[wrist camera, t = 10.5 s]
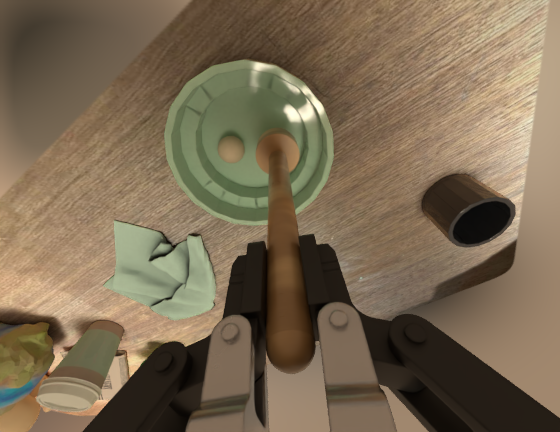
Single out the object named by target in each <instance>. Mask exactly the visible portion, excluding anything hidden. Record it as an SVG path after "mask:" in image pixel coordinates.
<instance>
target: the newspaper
mask: <svg viewBox="0 0 560 432" xmlns="http://www.w3.org/2000/svg"><path fill="white" fill-rule="evenodd" d="M69 351H70V350H69ZM69 351H68V352H60V353H61V355H62V357H63V358H64V357H65V356H66V355H67V354H68V353H69ZM128 380H129V376H128V367H127V358H126V352H125V351H121V350H117V351H116V354H115V356H114V359H113V361H112V364H111V366H110V369H109V372H108V374H107V377H106V379H105V382H104V384H103V387H102V389H101V390H102V394H101V395H100V396H99V399H98V400H110V399H112V398H113V397H114V396H115V394H116V393H117V392H118V391H119V390H120V389H121V388H122V387H123V385H124V384H125V383H126V382H127V381H128Z"/></svg>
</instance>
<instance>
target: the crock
mask: <svg viewBox="0 0 560 432" xmlns="http://www.w3.org/2000/svg"><path fill="white" fill-rule="evenodd" d="M422 209H423V212H424V213H425V215H426V216H427V217H428V218H429V219H430V220H431V221H432V222H433V224H434V225H435V226H436V227H437V228H438V229H439V230H440V231H441V232H442V233H443V234H444V235H445V236H446V237H447V238H448V239H449V240H450V241H451V242H452V243H453V244H455V245H456V246H460V247H475V246H479V245H482V244H485V243H487V242H490V241H492V240H493V239H495V238H496V237H498V236H499V235H501V234H502V233H503V232H504V231H505V230H506V229H507V228H508V227H509V226H510V225H511V223H512V221H513V219H514V217H515V214H516V213H515V205H514V204H513V203H512V202H511V201H510V200H509V199H508V198H506V197H504V196H503V195H501V194H500V193H498V192H496V191H495V190H493V189H491V188H490V187H488V186H487V185H485V184H483V183H482V182H480V181H478V180H477V179H475V178H473V177H471V176H469V175H465V174H455V175H451V176H448V177H445V178H443V179H441V180H440V181H438V182H437V183H435V184H434V185H433V186H432V187H431V188H430V189H429V190H428V191H427V193H426V194H425V196H424V198H423V202H422Z"/></svg>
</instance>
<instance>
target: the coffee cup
mask: <svg viewBox="0 0 560 432" xmlns="http://www.w3.org/2000/svg"><path fill="white" fill-rule="evenodd" d="M123 333H124V330H123V328H122V327H121V326H120V325H118V324H116V323H114V322H110V321H96V322H94V323H92V325H91V326H90V327H89V328H88V329H87V331H86V332H85V333H84V334H83V335H82V337H81V338H80V339H79V340H78V342H77V343H76V344H75V345H74V346H73V348H72V349H71V350H70V351H69V353H68V354H67V355H66V356H65V357H64V359H63V360H62V361H61V362H60V364H59V365H58V366H57V367H56V368H55V370H54V371H53V372H52V373H51V375H50V376H49V377H48V378H47V379H45V380H44V381H43V382H42V384H41V386H40V387H39V392H38V395H37V397H36V401H37V402H38V403H39V404H40V405H42V406H44V407H47V408H50V409H53V410H58V411H64V412H81V411H86V410H88V409H90V408H91V406H92V405H93V404H94V403H95V401H97V400H98V399H99V396H100V395H101V394H102V390H101V389H102V387H103V384H104V382H105V379H106V377H107V374H108V372H109V369H110V366H111V364H112V361H113V359H114V356H115V354H116V351H117V349H118V346H119V344H120V341H121V338H122V336H123Z"/></svg>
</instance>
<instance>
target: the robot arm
mask: <svg viewBox="0 0 560 432" xmlns="http://www.w3.org/2000/svg"><path fill="white" fill-rule="evenodd" d="M298 238H299V245H300V252H301V258H302V265H303V272H304V278H305V285H306V292H307V298H308V305H309V311H310V318H311V322H312V324H313V330H314V336H315V341H319V342H320V348H321V356H322V364H323V373H324V381H325V389H326V399H327V407H328V416H329V424H330V432H397V429H396V426H395V423H394V419H393V416H392V412H391V409H390V406H389V403H388V400H387V397H386V395H385V393H384V391H383V390H382V389H381V388H380V386H379V384H380V385H383V386H387V387H388V388H389V389H390V390H391V391H392V392H393V393H394V394H395V395H396V397H397V398H398V399H399V400H400V401H401V402H402V403H403V404H404V405H405V406H406V407H407V408H408V410H409V411H410V412H411V413H412V414H413V415H414V416H415V417H416V418H417V419H418V420H419V421H420V422H421V424H422V425H423V426H424V427H425V428H426V429H427V430H428V431H429V432H560V418H559V417H557V416H556V415H555V414H553V413H552V412H551V411H549V410H548V409H547V408H545V407H544V406H542V405H541V404H540V403H538V402H537V401H535V400H534V399H533V398H532V397H530V396H529V395H527V394H526V393H525V392H524V391H522V390H521V389H519V388H518V387H517V386H515V385H514V384H513V383H511V382H510V381H509V380H507V379H506V378H505V377H503V376H502V375H500V374H499V373H498V372H496V371H495V370H494V369H492V368H491V367H490V366H488V365H487V364H485V363H484V362H483V361H481V360H480V359H479V358H477V357H476V356H475V355H473V354H472V353H471V352H469V351H468V350H466V349H465V348H464V347H462V346H461V345H460V344H458V343H457V342H456V341H454V340H453V339H451V338H450V337H449V336H448V335H446V334H445V333H444V332H442V331H441V330H439V329H438V328H436V327H435V326H434V325H432V324H431V323H430V322H428V321H427V320H425V319H423V318H422V317H419V316H417V315H412V314H402V315H399V316H397V317H395V318H394V319H393V320H392V321H387V320H382V319H376V318H372V317H369V316H366V315H364V314H363V313H361V312H360V311H358V310H357V309H356V308H355V306H354V305H353V304H352V302H351V299H350V296H349V293H348V290H347V287H346V284H345V281H344V278H343V275H342V272H341V269H340V265H339V262H338V259H337V256H336V253H335V251H334V250H333V249H332V248H331V247H330V245H329V244H328V243H327V244H320V245H317V244H316V240H315V236H314V234H309V235H302V236H298ZM266 300H267V248H266V245H265V242H264V241H260V242H253V243H248V246H247V254H246V255H242V256H238V257H237V259H236V260H235V262H234V263H233V265H232V269H231V277H230V280H229V286H228V291H227V297H226V303H225V308H224V314H223V318H222V320H221V321H220V322H219V323H218V324H217V325H216V326H215V327H214V329H213V331H212V334H211V335H209V336H208V337H206V338H204V339H202V340H200V341H198V342H196V343H193V344H191V345H189V346H187V347H185V346H184V345H183V344H182V343H180V342H176V341H172V342H168V343H165V344H163V345H161V346H160V347H158V348H157V349H156V350H155V351H154V352H153V353H152V354H151V355H150V356H149V357H148V358H147V359H146V361H145V362H144V363H143V364H142V365H141V366H140V367H139V368H138V370H137V371H136V372H135V373H134V374H133V375H132V376H131V377H130V379H129V380H128V381H127V382H126V383H125V384H124V385H123V387H122V388H121V389H120V390H119V391H118V392H117V393H116V394H115V396H114V397H113V398H112V399H111V400H110V401H109V402H108V403H107V405H106V406H105V407H104V408H103V409H102V410H101V411H100V413H99V414H98V415H97V416H96V417H95V418H94V419H93V421H92V422H91V423H90V424H89V425H88V426H87V427H86V428H85V429H84V431H83V432H269V418H268V390H267V366H266Z"/></svg>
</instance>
